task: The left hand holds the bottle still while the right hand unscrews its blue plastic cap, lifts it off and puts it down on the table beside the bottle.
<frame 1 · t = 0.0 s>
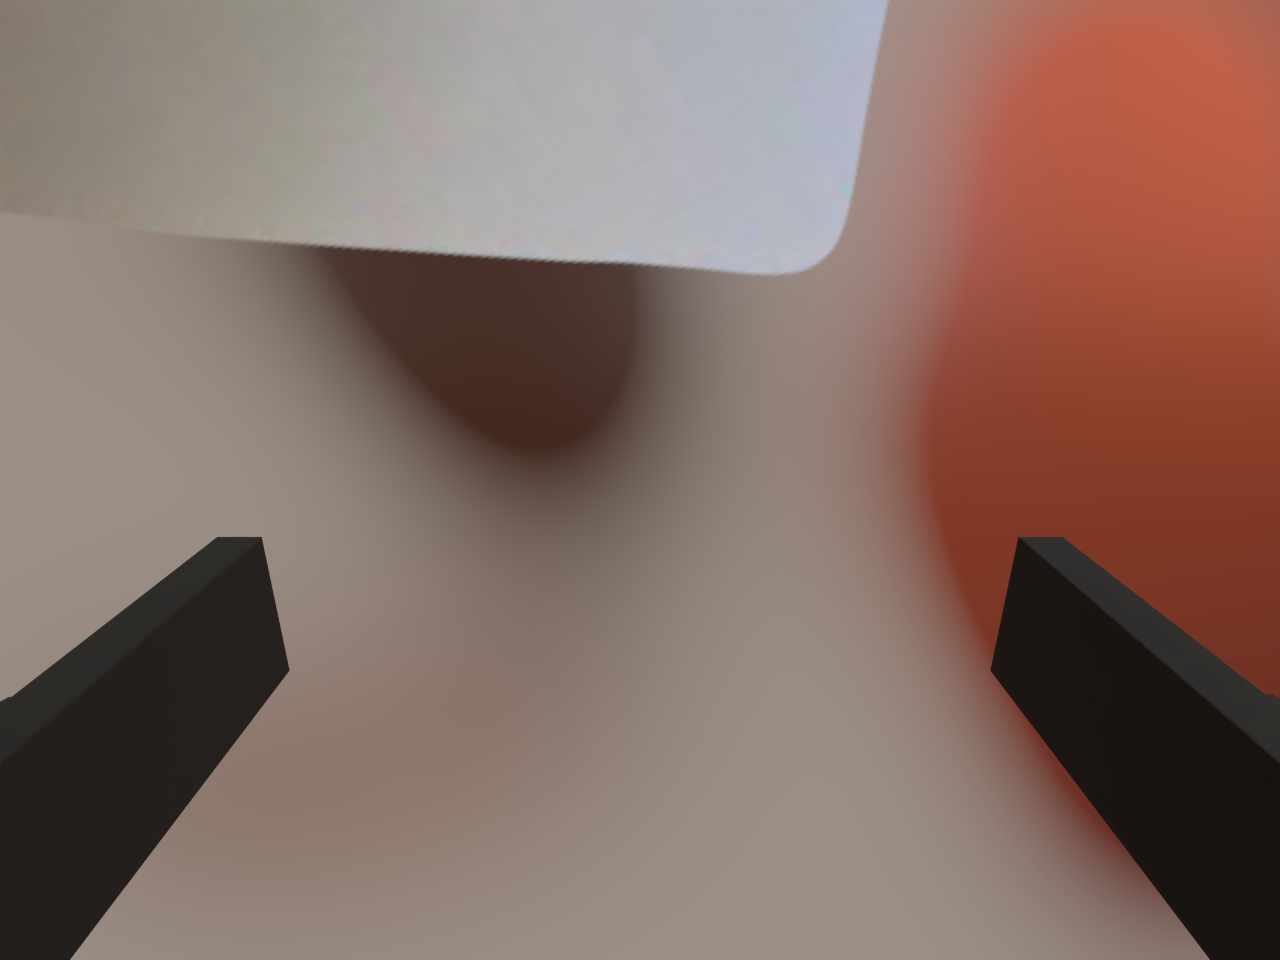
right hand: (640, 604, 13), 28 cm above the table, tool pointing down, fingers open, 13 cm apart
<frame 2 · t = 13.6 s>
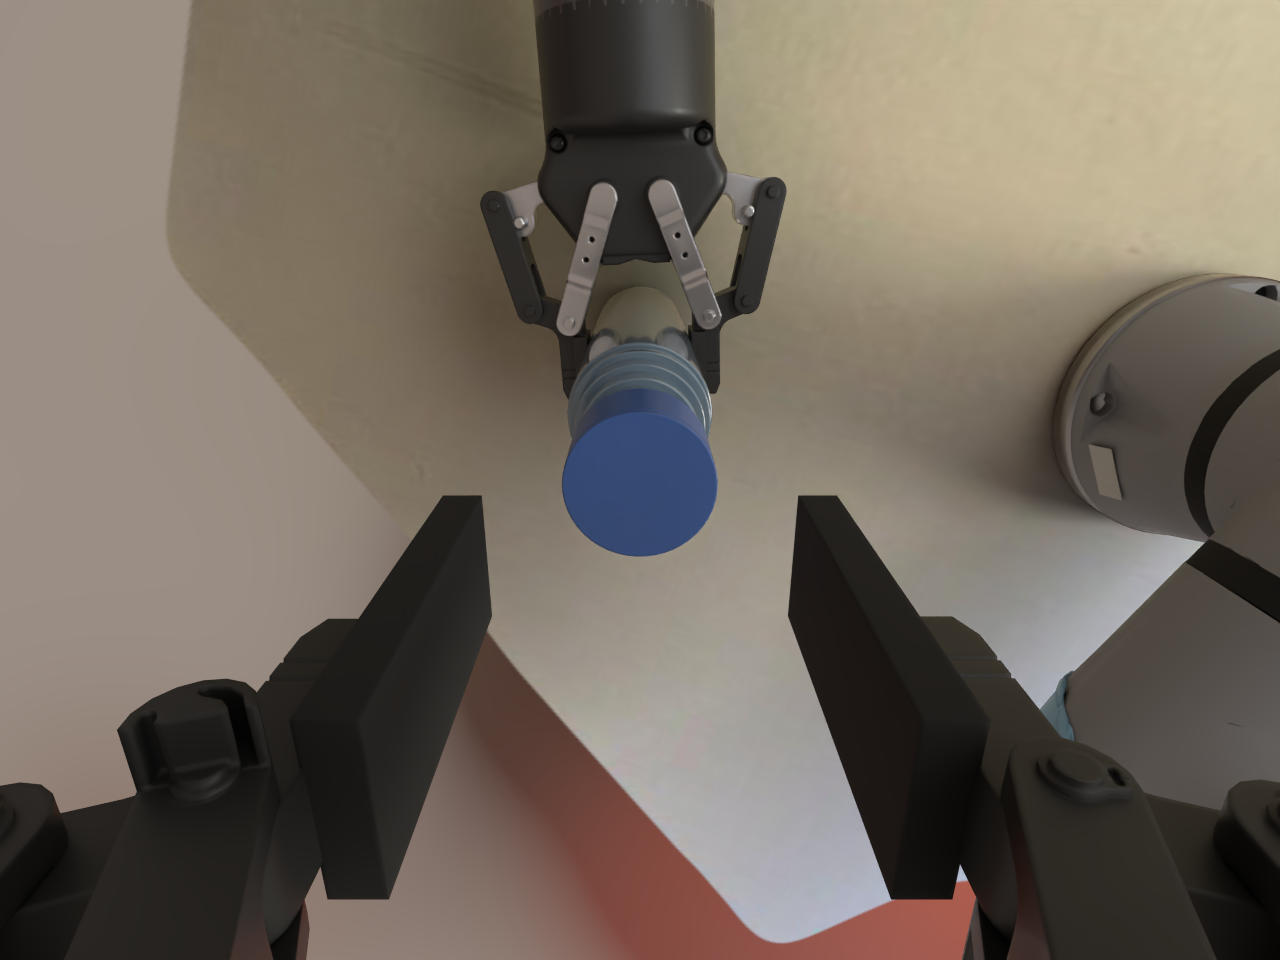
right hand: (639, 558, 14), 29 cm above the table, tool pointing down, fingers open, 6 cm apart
left hand: (643, 403, 36), fingers closed on bottle, 5 cm apart
cap: (639, 483, 18), point 24 cm above the table, screwed on, not yet turned
bottle: (640, 330, 41), on the table, touching left hand
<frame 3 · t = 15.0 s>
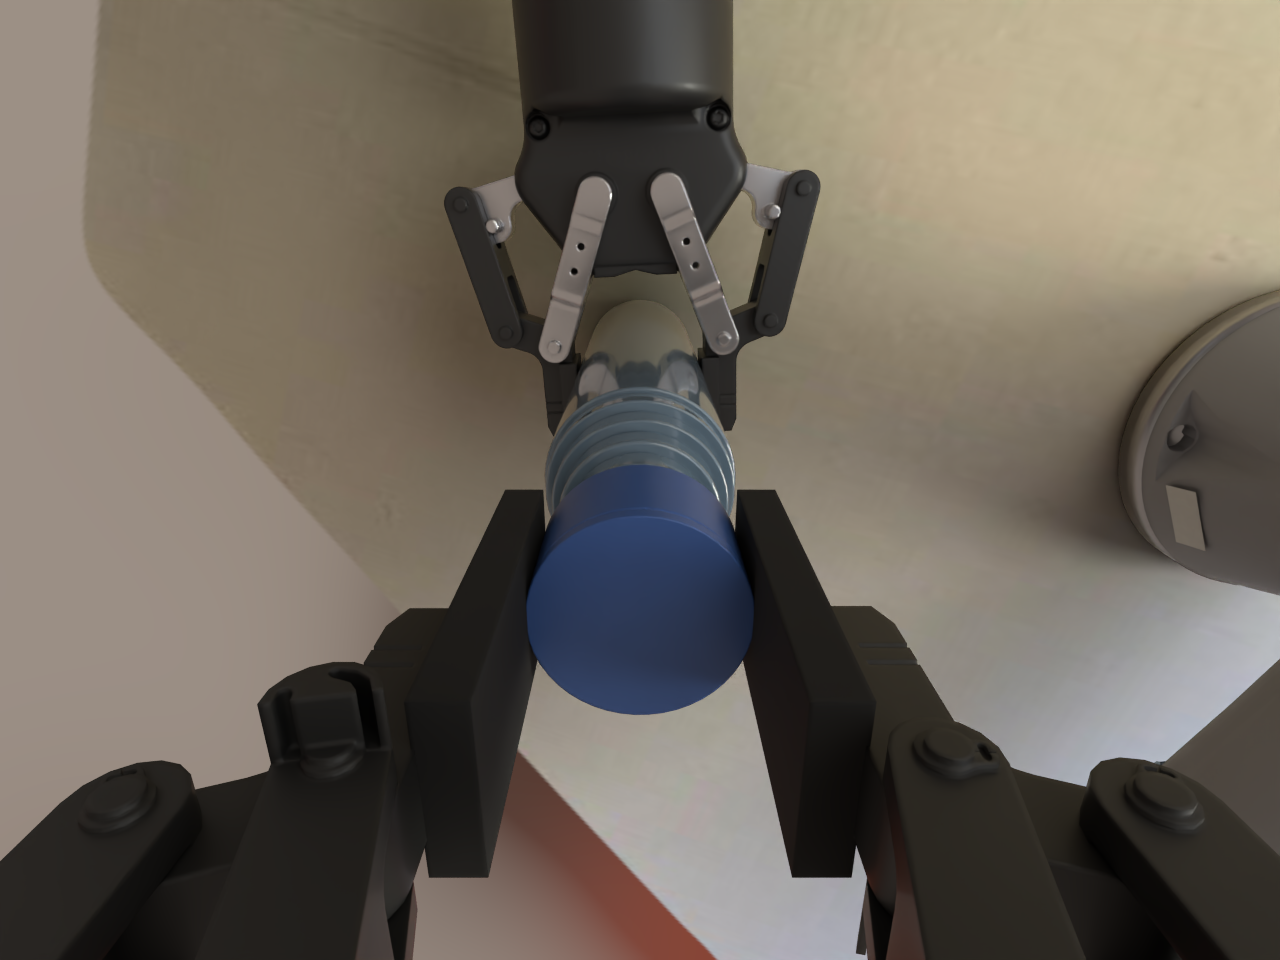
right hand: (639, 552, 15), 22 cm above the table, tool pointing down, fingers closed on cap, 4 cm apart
left hand: (643, 441, 30), fingers closed on bottle, 5 cm apart
cap: (640, 612, 12), point 24 cm above the table, screwed on, not yet turned, touching right hand
bottle: (640, 350, 35), on the table, touching left hand
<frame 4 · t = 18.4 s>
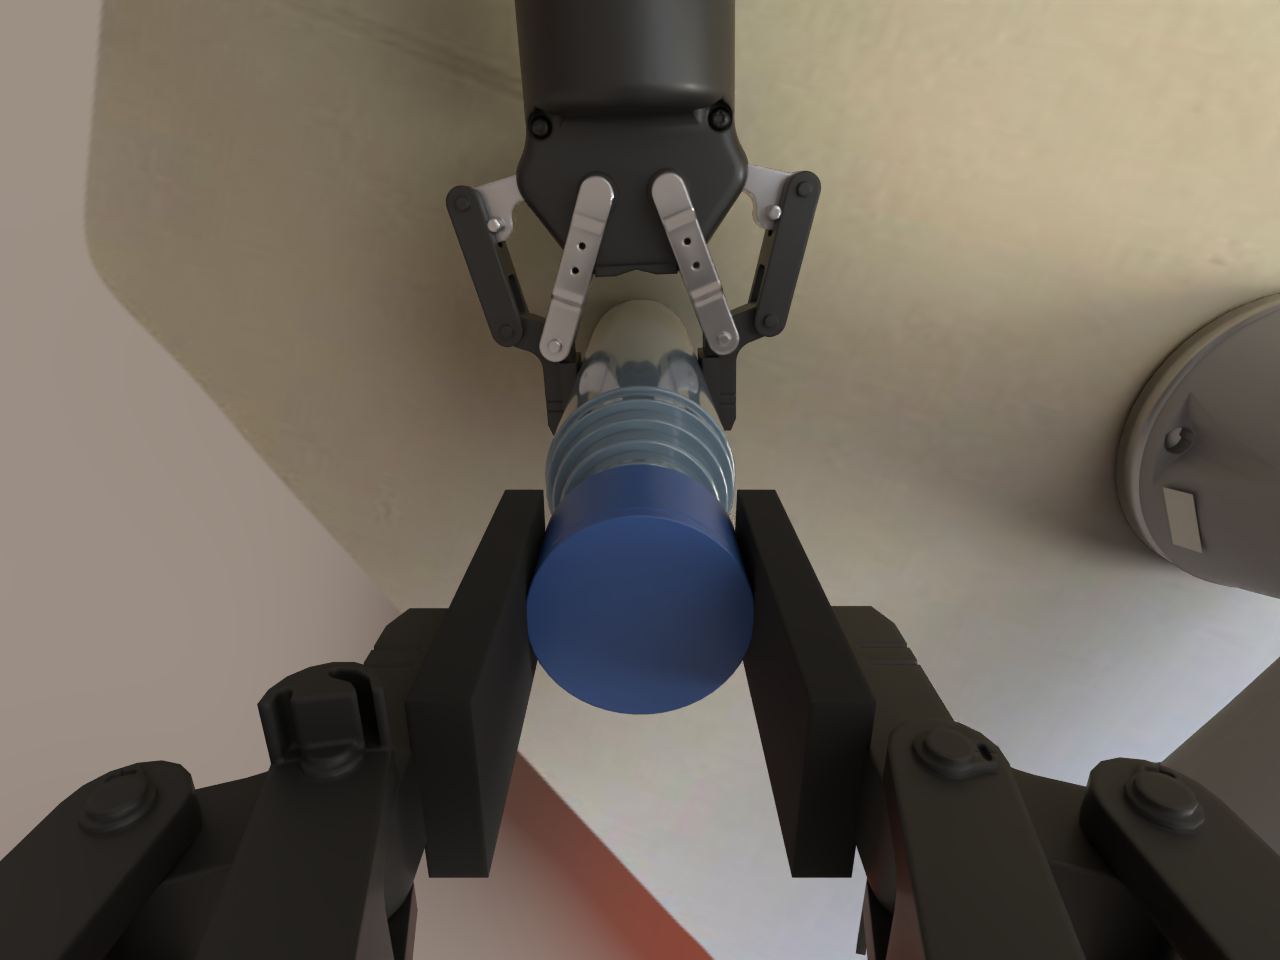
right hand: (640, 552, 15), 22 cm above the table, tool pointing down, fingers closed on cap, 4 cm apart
left hand: (643, 440, 30), fingers closed on bottle, 5 cm apart
cap: (640, 611, 12), point 25 cm above the table, turned 90° so far, risen 0.1 cm, still on its thread, touching right hand
bottle: (640, 350, 35), on the table, touching left hand
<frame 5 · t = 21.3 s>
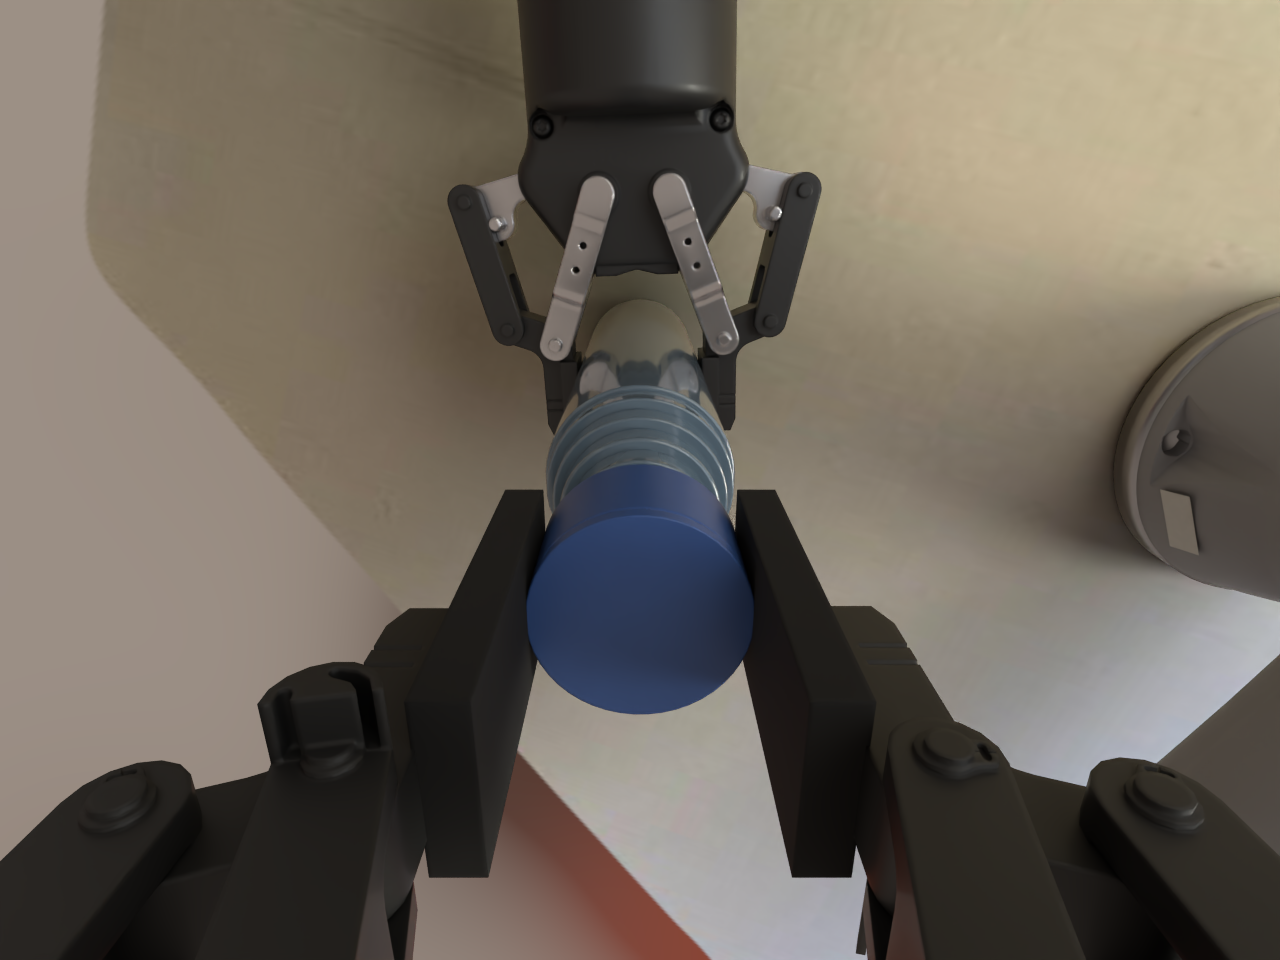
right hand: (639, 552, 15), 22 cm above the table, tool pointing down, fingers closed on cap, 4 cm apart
left hand: (643, 439, 30), fingers closed on bottle, 5 cm apart
cap: (640, 611, 12), point 25 cm above the table, turned 180° so far, risen 0.2 cm, still on its thread, touching right hand
bottle: (640, 349, 35), on the table, touching left hand
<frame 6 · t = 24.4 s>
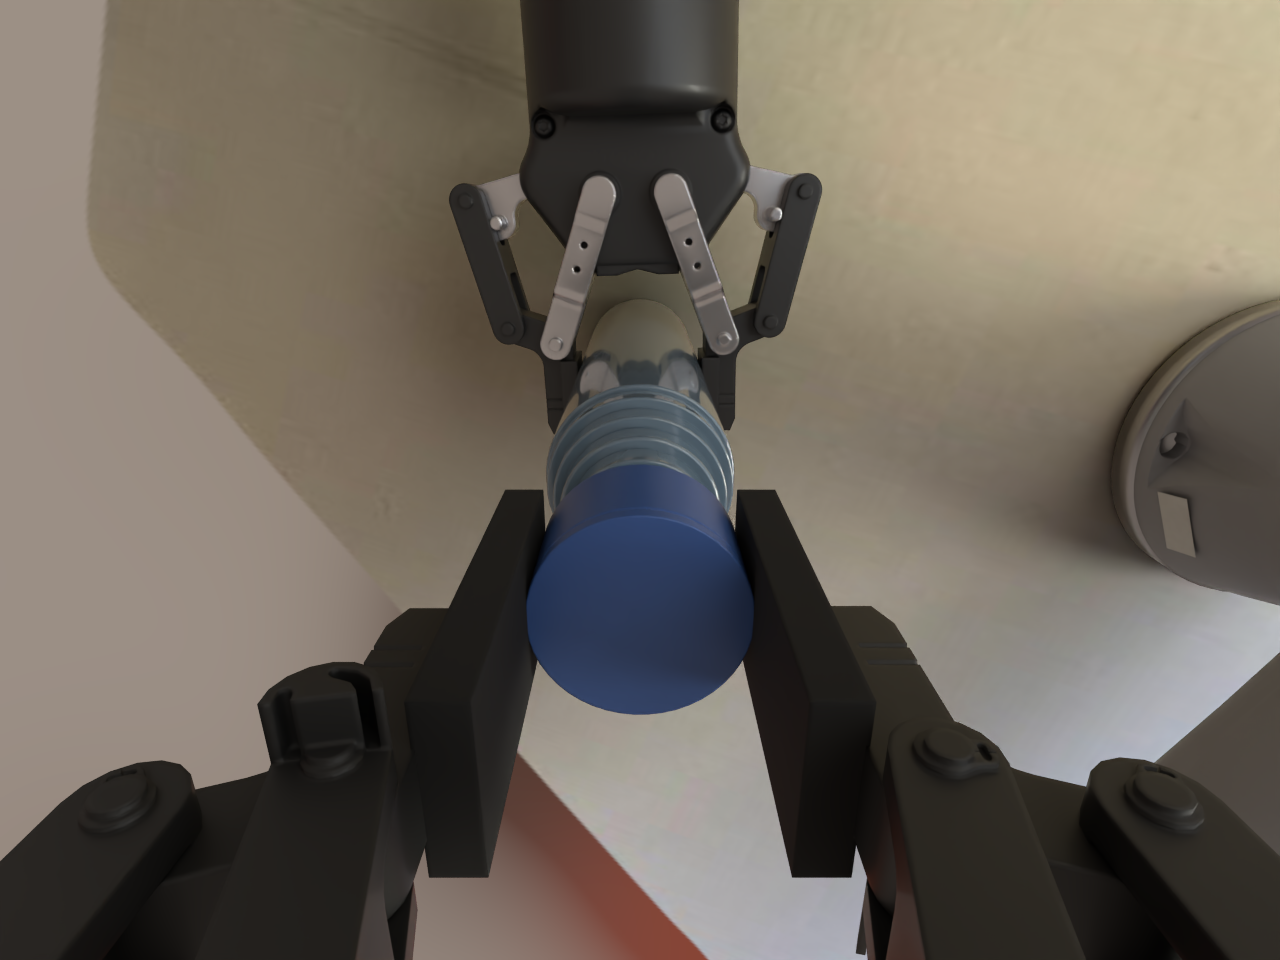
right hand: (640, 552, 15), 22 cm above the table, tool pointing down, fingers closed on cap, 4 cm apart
left hand: (642, 439, 30), fingers closed on bottle, 5 cm apart
cap: (640, 612, 12), point 25 cm above the table, turned 271° so far, risen 0.3 cm, still on its thread, touching right hand
bottle: (640, 349, 36), on the table, touching left hand
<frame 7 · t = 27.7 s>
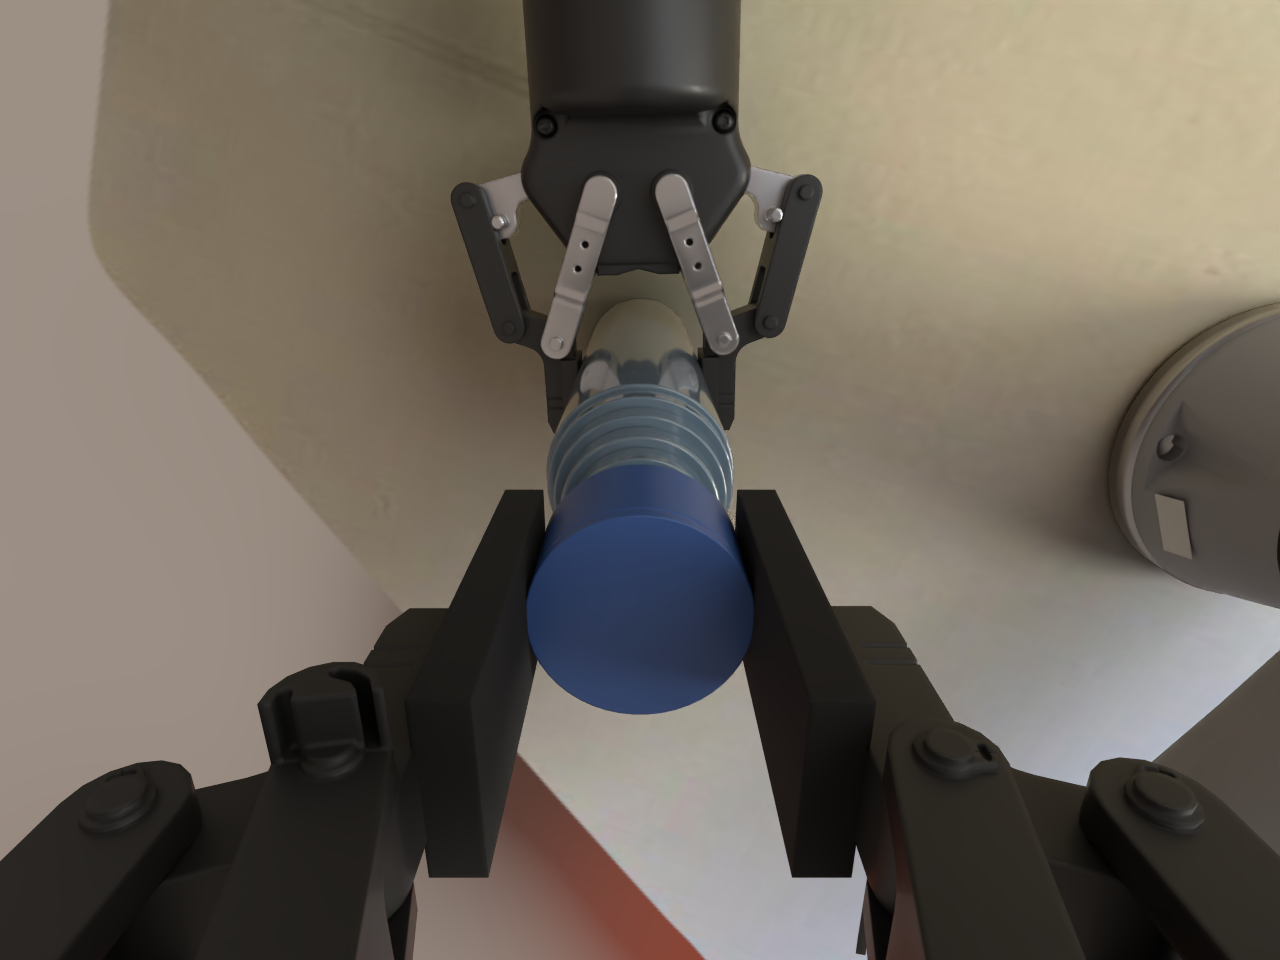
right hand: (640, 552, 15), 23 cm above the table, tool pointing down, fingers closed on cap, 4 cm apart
left hand: (642, 438, 30), fingers closed on bottle, 5 cm apart
cap: (640, 611, 12), point 25 cm above the table, turned 361° so far, risen 0.3 cm, still on its thread, touching right hand
bottle: (640, 349, 36), on the table, touching left hand
when the right hand's fingers open (1 cm above the table, at t = 36.0 s): cap drops 1 cm, point 2 cm above the table.
when the left hand's fingers open (7 cm above the table, at t = 37.3 s): bottle stays where it is, on the table.
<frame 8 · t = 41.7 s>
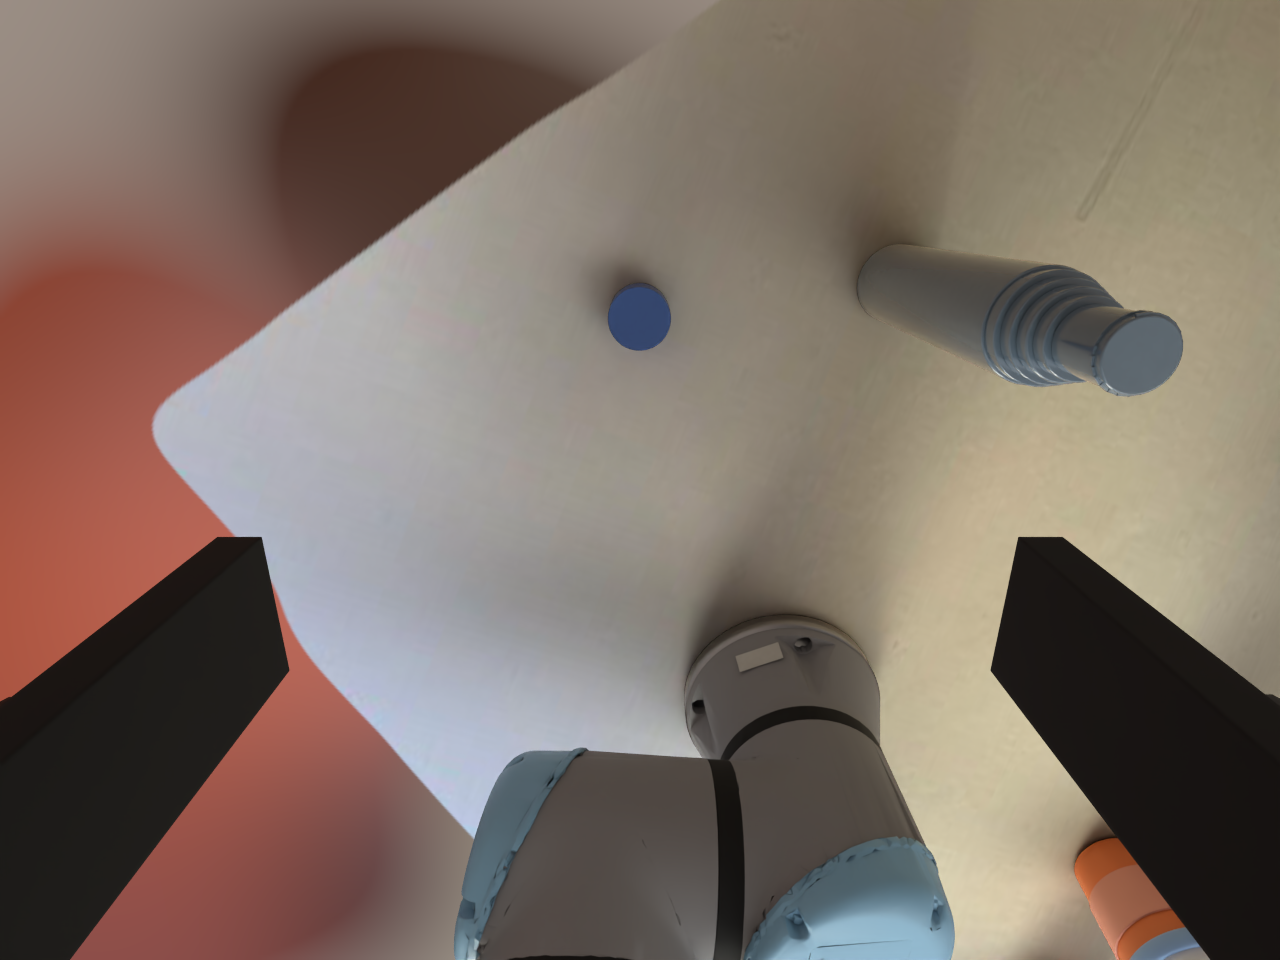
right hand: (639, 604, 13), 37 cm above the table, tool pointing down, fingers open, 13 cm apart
cap: (639, 318, 45), point 2 cm above the table, off its thread
bottle: (895, 283, 46), on the table
cup with straw: (1106, 860, 64), on the table
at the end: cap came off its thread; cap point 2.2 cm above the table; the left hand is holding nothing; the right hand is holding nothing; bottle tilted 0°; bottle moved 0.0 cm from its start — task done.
